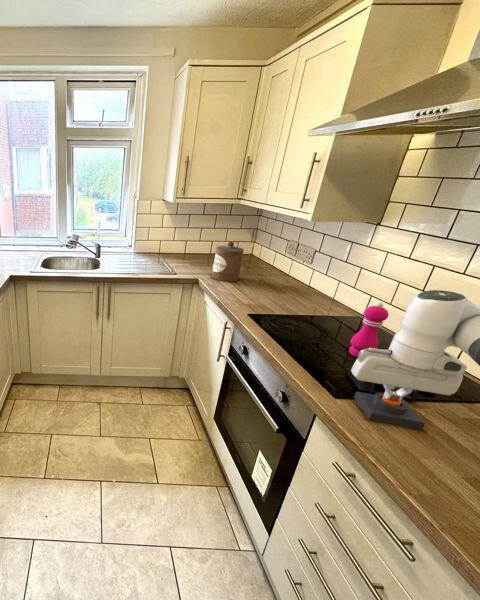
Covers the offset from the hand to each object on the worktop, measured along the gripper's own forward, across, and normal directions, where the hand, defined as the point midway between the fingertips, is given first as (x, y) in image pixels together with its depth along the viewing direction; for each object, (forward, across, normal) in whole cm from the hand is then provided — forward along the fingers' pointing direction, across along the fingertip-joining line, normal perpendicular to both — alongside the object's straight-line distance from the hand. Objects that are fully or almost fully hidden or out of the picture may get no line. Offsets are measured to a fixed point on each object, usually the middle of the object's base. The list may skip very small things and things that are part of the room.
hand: (391, 398), depth 83 cm
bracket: (+5, +3, +12) cm, 13 cm away
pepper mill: (+5, +7, +33) cm, 34 cm away
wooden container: (+5, -31, +111) cm, 115 cm away
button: (+2, 0, 0) cm, 2 cm away
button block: (+5, 0, 0) cm, 5 cm away
